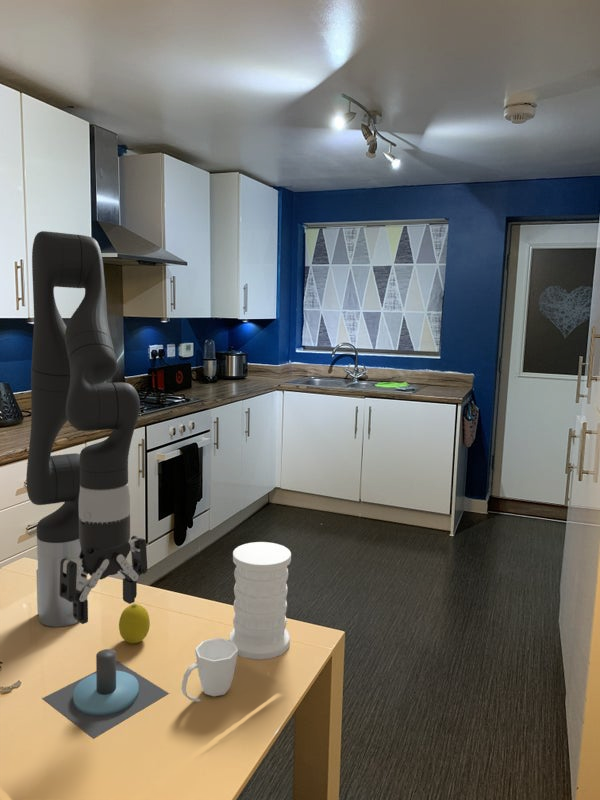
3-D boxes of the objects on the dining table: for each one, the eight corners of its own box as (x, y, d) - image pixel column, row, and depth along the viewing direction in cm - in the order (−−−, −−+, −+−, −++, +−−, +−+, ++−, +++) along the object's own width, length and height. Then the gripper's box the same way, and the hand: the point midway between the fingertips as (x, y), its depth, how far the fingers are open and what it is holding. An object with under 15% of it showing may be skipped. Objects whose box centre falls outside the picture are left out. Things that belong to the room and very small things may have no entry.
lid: (60, 697, 98) (59, 655, 97) (113, 669, 106) (113, 631, 105) (97, 725, 92) (97, 681, 91) (151, 693, 100) (151, 652, 99)
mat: (42, 701, 98) (42, 698, 98) (117, 663, 109) (116, 660, 109) (93, 742, 90) (93, 738, 89) (169, 696, 100) (169, 693, 100)
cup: (245, 695, 102) (247, 649, 100) (196, 722, 95) (196, 674, 93) (219, 676, 106) (220, 632, 105) (170, 701, 99) (170, 654, 98)
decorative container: (279, 664, 111) (282, 569, 108) (219, 652, 114) (221, 560, 111) (296, 632, 122) (300, 546, 119) (241, 622, 125) (244, 537, 122)
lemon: (141, 654, 112) (141, 613, 111) (113, 649, 113) (113, 609, 112) (154, 638, 118) (154, 599, 116) (127, 634, 119) (127, 595, 117)
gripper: (128, 497, 102) (128, 589, 105) (48, 517, 91) (50, 620, 94) (157, 506, 98) (157, 603, 100) (76, 530, 87) (79, 637, 89)
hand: (106, 611), depth 97 cm, fingers open, 8 cm apart
